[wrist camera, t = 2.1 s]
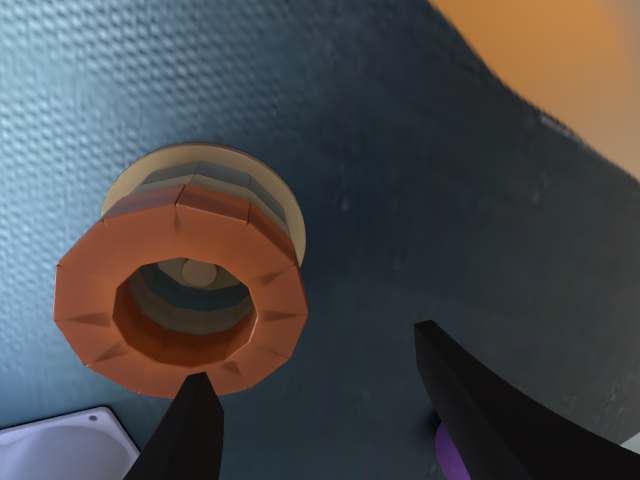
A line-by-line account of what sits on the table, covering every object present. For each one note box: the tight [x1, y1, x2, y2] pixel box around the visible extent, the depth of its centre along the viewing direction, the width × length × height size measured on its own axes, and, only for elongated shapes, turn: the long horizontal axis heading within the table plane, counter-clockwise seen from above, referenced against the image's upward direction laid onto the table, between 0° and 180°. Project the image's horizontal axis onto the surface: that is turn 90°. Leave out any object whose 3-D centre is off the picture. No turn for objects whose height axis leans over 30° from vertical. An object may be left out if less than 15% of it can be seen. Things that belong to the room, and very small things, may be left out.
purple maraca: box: [435, 422, 471, 480], centre depth 31 cm, size 6×6×20 cm
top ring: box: [53, 184, 308, 399], centre depth 15 cm, size 9×9×2 cm
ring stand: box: [101, 142, 306, 336], centre depth 18 cm, size 10×10×5 cm
